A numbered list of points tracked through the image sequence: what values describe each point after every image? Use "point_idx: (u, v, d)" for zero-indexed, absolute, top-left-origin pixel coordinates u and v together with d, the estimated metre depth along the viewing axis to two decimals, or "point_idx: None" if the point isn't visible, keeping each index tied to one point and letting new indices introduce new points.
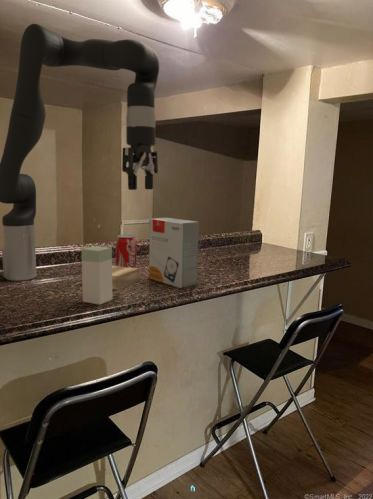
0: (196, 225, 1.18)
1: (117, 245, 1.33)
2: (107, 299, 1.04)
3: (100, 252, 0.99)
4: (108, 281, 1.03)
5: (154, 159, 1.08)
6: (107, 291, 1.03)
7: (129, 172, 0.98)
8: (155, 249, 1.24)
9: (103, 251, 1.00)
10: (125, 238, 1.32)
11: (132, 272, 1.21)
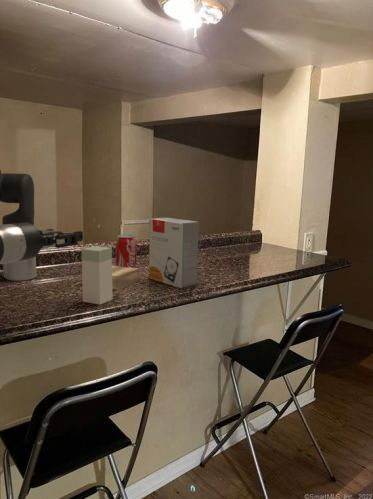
0: (196, 225, 1.18)
1: (117, 245, 1.33)
2: (107, 299, 1.04)
3: (100, 252, 0.99)
4: (108, 281, 1.03)
5: None
6: (107, 291, 1.03)
7: None
8: (155, 249, 1.24)
9: (103, 251, 1.00)
10: (125, 238, 1.32)
11: (132, 272, 1.21)
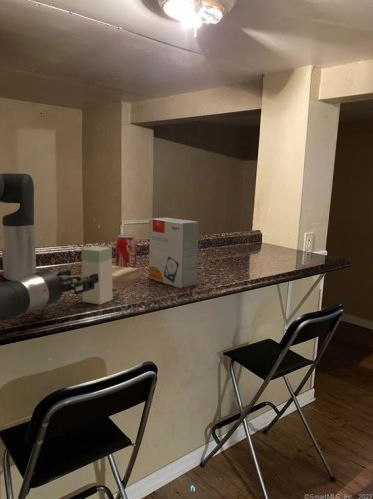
0: (196, 225, 1.18)
1: (117, 245, 1.33)
2: (107, 299, 1.04)
3: (100, 252, 0.99)
4: (108, 281, 1.03)
5: None
6: (107, 291, 1.03)
7: None
8: (155, 249, 1.24)
9: (103, 251, 1.00)
10: (125, 238, 1.32)
11: (132, 272, 1.21)
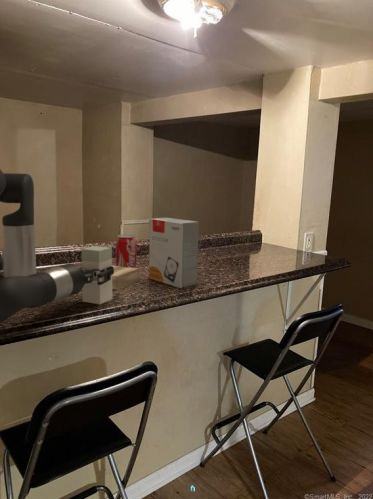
0: (196, 225, 1.18)
1: (117, 245, 1.33)
2: (107, 299, 1.04)
3: (100, 252, 0.99)
4: (108, 281, 1.03)
5: None
6: (107, 291, 1.03)
7: None
8: (155, 249, 1.24)
9: (103, 251, 1.00)
10: (125, 238, 1.32)
11: (132, 272, 1.21)
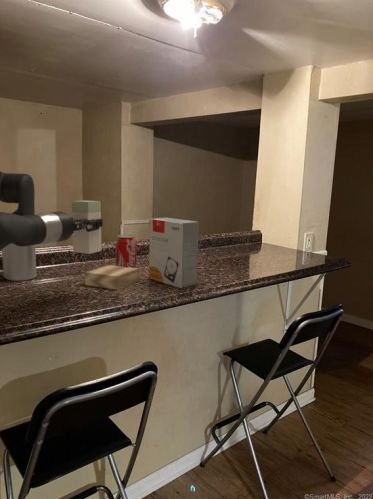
0: (196, 225, 1.18)
1: (117, 245, 1.33)
2: (96, 250, 1.09)
3: (89, 203, 1.05)
4: (97, 233, 1.09)
5: None
6: (96, 242, 1.09)
7: None
8: (155, 249, 1.24)
9: (92, 203, 1.06)
10: (125, 238, 1.32)
11: (132, 272, 1.21)
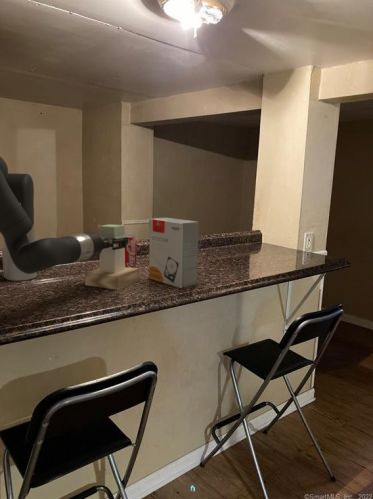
0: (196, 225, 1.18)
1: None
2: (120, 269, 1.21)
3: (115, 228, 1.17)
4: (121, 254, 1.21)
5: None
6: (121, 262, 1.21)
7: None
8: (155, 249, 1.24)
9: (117, 227, 1.18)
10: None
11: (132, 272, 1.21)
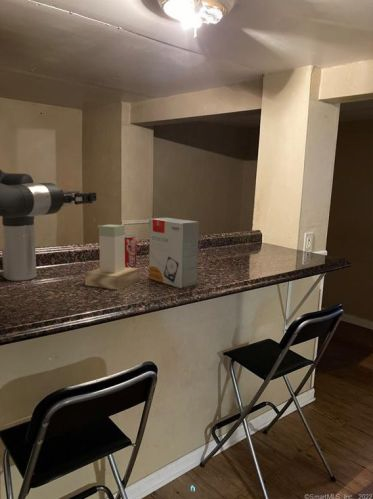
0: (196, 225, 1.18)
1: None
2: (120, 269, 1.21)
3: (115, 228, 1.17)
4: (121, 254, 1.21)
5: None
6: (121, 262, 1.21)
7: None
8: (155, 249, 1.24)
9: (117, 227, 1.18)
10: (125, 238, 1.32)
11: (132, 272, 1.21)
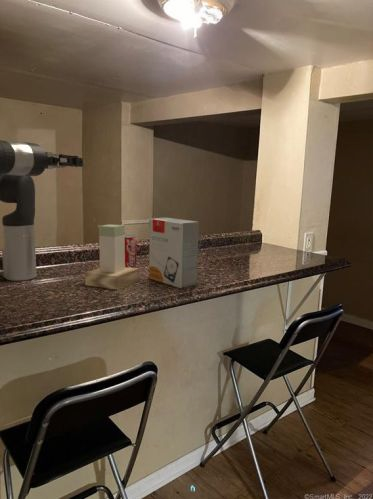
0: (196, 225, 1.18)
1: None
2: (120, 269, 1.21)
3: (115, 228, 1.17)
4: (121, 254, 1.21)
5: None
6: (121, 262, 1.21)
7: None
8: (155, 249, 1.24)
9: (117, 227, 1.18)
10: (125, 238, 1.32)
11: (132, 272, 1.21)
